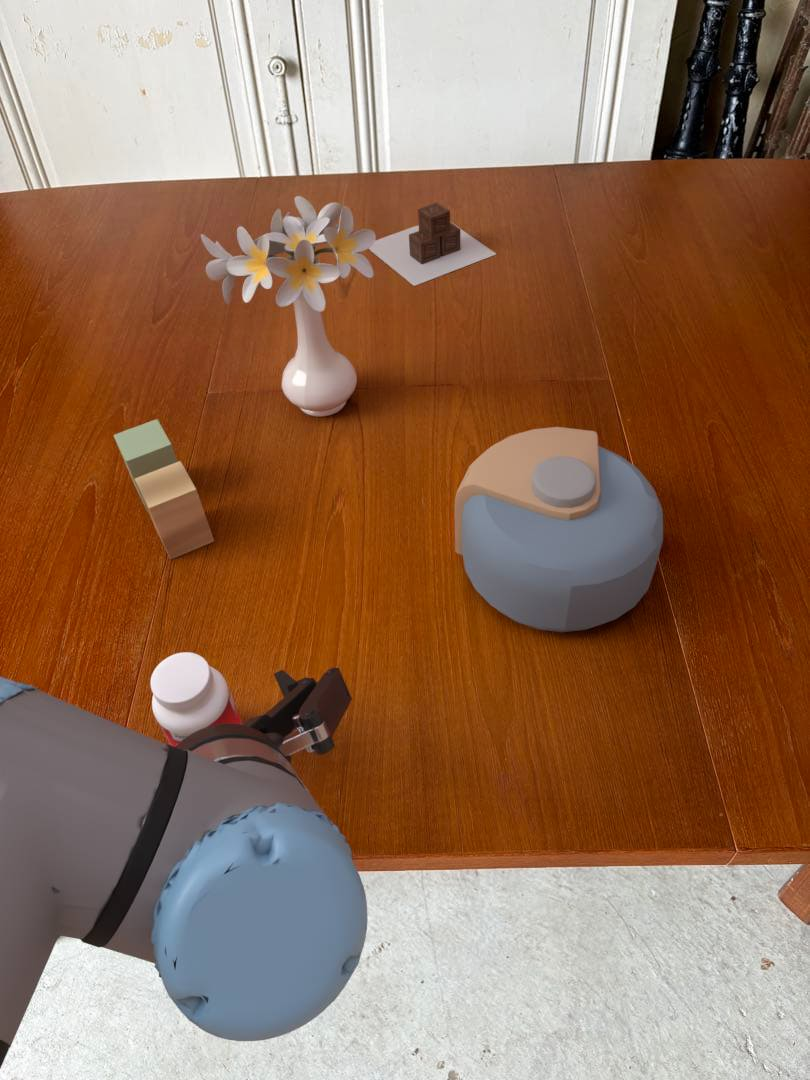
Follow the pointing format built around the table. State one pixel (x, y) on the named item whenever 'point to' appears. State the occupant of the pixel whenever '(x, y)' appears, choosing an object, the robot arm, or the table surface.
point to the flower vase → (302, 293)
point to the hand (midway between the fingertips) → (203, 726)
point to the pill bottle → (190, 697)
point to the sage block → (145, 450)
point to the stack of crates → (430, 247)
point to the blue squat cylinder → (557, 529)
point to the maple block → (175, 509)
